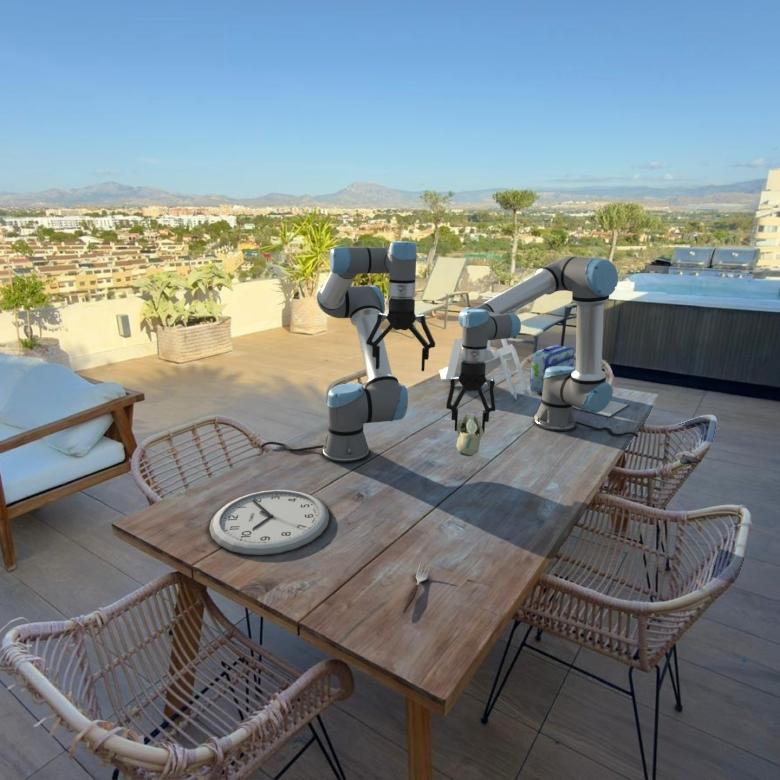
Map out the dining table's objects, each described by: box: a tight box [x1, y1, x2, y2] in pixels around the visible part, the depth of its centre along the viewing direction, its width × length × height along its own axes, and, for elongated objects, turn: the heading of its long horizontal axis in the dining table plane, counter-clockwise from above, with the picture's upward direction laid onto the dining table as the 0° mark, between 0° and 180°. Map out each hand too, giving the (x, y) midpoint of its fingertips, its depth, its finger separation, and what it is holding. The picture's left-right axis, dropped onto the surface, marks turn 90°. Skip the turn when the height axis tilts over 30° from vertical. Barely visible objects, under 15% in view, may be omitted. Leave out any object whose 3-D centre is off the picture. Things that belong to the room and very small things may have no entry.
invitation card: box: [573, 400, 629, 418], centre depth 226 cm, size 21×1×15 cm
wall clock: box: [209, 489, 330, 556], centre depth 135 cm, size 30×2×30 cm
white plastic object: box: [438, 338, 531, 400], centre depth 245 cm, size 37×45×31 cm
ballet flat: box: [455, 414, 485, 457], centre depth 157 cm, size 8×25×8 cm, turn 173°
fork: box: [402, 559, 432, 614], centre depth 109 cm, size 3×16×2 cm, turn 160°
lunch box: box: [529, 345, 575, 394], centre depth 245 cm, size 26×11×21 cm, turn 134°
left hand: (400, 369), depth 156 cm, fingers open, 13 cm apart
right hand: (469, 430), depth 166 cm, fingers closed on ballet flat, 8 cm apart
